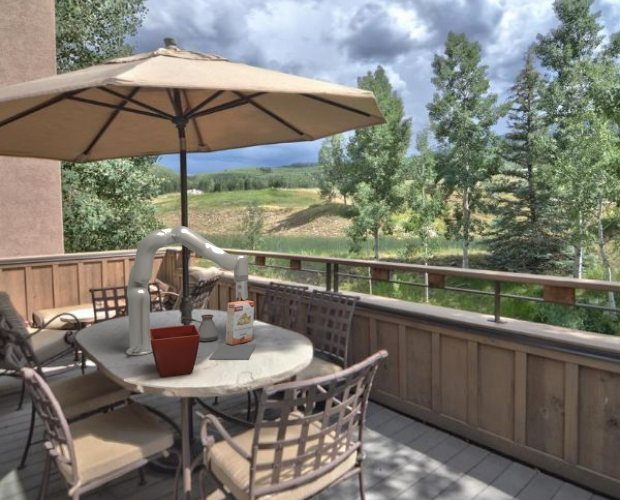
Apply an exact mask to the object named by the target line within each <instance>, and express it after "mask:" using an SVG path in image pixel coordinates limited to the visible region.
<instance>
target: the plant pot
mask: <svg viewBox="0 0 620 500" xmlns="http://www.w3.org/2000/svg"><path fill="white" fill-rule="evenodd" d="M198 330H199V329H198V328H197V326H196V325H195V324H189V325H188V324H187V325H176V326H175V325H174V326H167V327H166V326H165V327H155V328H150V340H151V347H152V352H151V353H152V356H153V359H154V362H155V367H156V370H157V373H158V376H159V377H161V378H164V377H171V376H179V375H186V374H187V375H189V374H192V373H193V372H194V368H195V364H196V360H197V356H198V351H199V345H200V344H199V343H200V334H199V332H198Z"/></svg>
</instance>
